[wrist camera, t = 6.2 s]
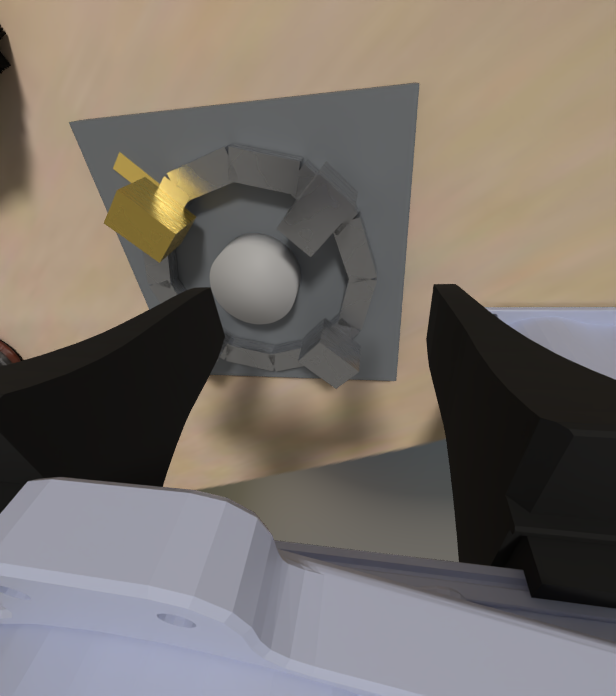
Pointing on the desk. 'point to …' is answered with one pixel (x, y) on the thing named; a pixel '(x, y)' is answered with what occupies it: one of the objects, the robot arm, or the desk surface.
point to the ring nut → (297, 225)
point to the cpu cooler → (0, 60)
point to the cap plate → (276, 211)
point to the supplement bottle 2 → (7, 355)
